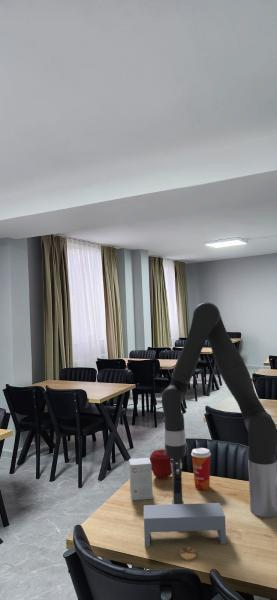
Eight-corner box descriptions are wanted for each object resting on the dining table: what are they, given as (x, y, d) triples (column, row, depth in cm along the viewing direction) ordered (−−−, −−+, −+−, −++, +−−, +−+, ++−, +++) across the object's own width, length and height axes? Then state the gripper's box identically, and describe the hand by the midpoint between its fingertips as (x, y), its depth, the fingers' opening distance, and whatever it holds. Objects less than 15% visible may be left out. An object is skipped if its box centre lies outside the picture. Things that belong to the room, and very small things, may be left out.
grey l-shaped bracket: (183, 502, 139) (181, 471, 139) (189, 529, 121) (188, 493, 122) (171, 503, 139) (170, 471, 139) (176, 530, 121) (175, 493, 122)
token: (194, 551, 111) (194, 546, 111) (197, 561, 106) (196, 556, 106) (179, 551, 111) (178, 547, 111) (180, 561, 106) (180, 557, 106)
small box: (150, 491, 149) (149, 457, 149) (153, 499, 143) (151, 463, 143) (129, 493, 148) (128, 458, 149) (131, 500, 142) (130, 464, 142)
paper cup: (189, 484, 154) (187, 448, 154) (206, 481, 156) (205, 446, 157) (197, 492, 146) (196, 455, 147) (215, 489, 149) (214, 452, 149)
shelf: (220, 528, 121) (219, 502, 122) (226, 543, 113) (225, 516, 114) (144, 531, 121) (143, 505, 122) (144, 546, 113) (143, 518, 114)
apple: (165, 485, 154) (164, 455, 154) (144, 478, 161) (143, 450, 161) (180, 476, 162) (179, 448, 162) (160, 470, 169) (159, 443, 169)
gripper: (188, 447, 131) (190, 499, 131) (183, 435, 145) (185, 481, 145) (166, 448, 131) (168, 500, 131) (163, 436, 145) (165, 482, 145)
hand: (177, 490), depth 138 cm, fingers closed on grey l-shaped bracket, 3 cm apart
